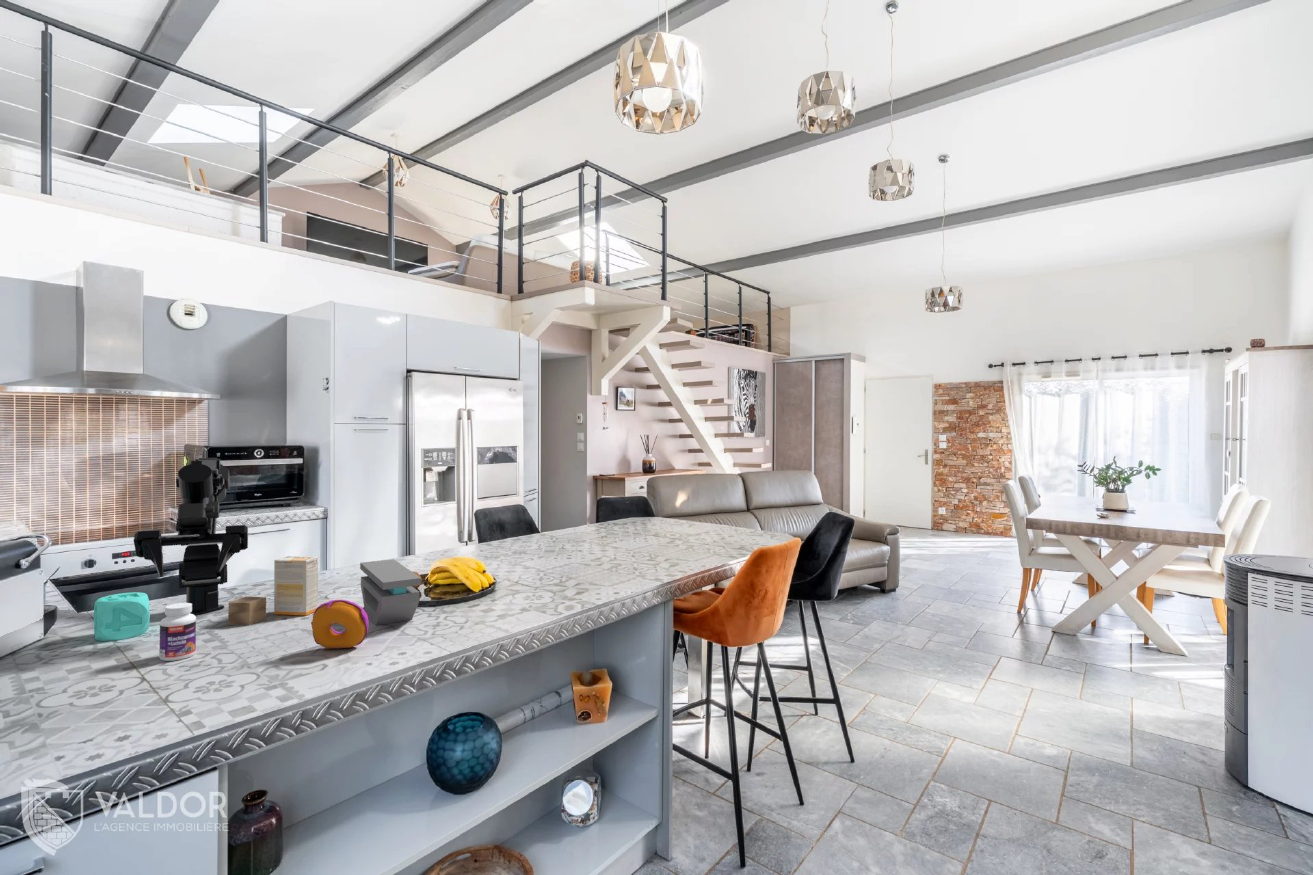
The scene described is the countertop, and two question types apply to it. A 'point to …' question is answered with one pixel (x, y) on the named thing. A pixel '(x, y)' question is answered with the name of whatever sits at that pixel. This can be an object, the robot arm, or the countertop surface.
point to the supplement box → (295, 585)
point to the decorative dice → (121, 616)
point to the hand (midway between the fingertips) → (190, 573)
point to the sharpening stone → (389, 591)
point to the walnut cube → (247, 610)
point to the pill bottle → (177, 633)
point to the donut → (341, 614)
